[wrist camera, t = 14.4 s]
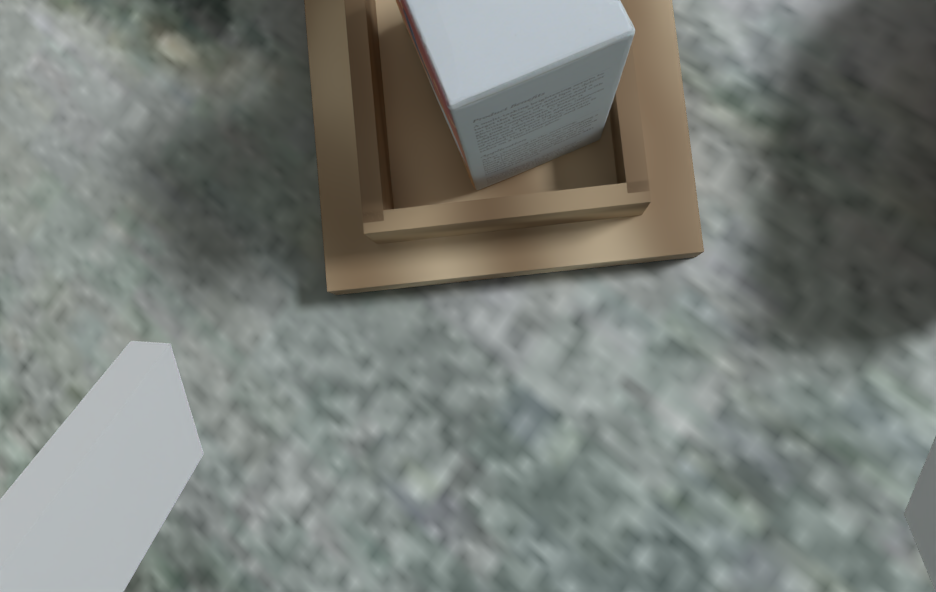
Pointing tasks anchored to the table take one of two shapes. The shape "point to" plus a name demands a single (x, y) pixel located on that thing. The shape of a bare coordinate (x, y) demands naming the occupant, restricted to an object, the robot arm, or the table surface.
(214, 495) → the table surface
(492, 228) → the tan wooden flat tray
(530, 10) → the small box
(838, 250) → the table surface
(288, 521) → the table surface
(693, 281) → the table surface
